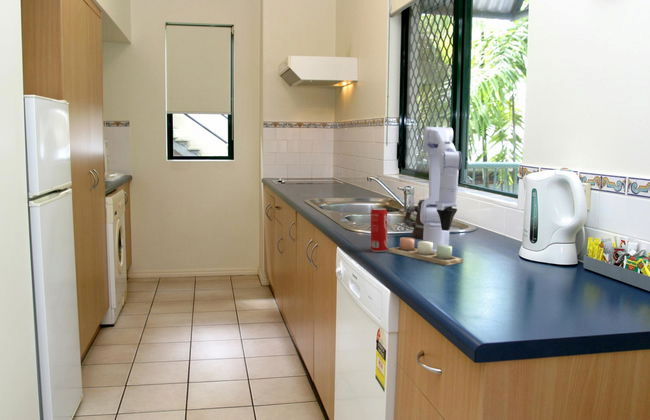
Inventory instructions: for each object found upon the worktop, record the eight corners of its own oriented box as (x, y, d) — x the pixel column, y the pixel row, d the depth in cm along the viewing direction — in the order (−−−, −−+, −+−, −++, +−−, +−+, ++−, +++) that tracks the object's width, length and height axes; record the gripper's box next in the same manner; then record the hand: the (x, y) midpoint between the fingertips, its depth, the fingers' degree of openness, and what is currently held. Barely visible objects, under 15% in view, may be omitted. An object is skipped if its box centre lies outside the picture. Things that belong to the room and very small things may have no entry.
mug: (436, 235, 254) (438, 199, 252) (445, 240, 242) (448, 202, 240) (399, 234, 252) (401, 198, 250) (407, 239, 240) (409, 201, 238)
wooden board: (405, 249, 220) (405, 246, 220) (463, 262, 201) (463, 258, 201) (388, 251, 214) (388, 248, 214) (446, 265, 195) (446, 261, 195)
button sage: (442, 254, 205) (443, 244, 204) (454, 257, 201) (455, 246, 201) (432, 256, 202) (433, 245, 201) (445, 259, 198) (445, 248, 197)
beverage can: (386, 253, 211) (388, 210, 209) (367, 251, 212) (369, 208, 211) (388, 250, 217) (390, 208, 215) (369, 248, 218) (372, 206, 216)
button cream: (423, 250, 211) (424, 240, 210) (435, 253, 207) (436, 242, 207) (414, 252, 207) (414, 241, 207) (425, 254, 204) (426, 244, 203)
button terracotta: (406, 246, 217) (406, 236, 216) (417, 249, 213) (417, 239, 213) (396, 248, 213) (397, 238, 213) (407, 250, 210) (408, 240, 209)
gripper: (443, 186, 207) (441, 226, 208) (428, 188, 194) (426, 231, 196) (464, 188, 203) (461, 228, 205) (450, 190, 191) (447, 233, 192)
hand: (445, 230), depth 200 cm, fingers closed
